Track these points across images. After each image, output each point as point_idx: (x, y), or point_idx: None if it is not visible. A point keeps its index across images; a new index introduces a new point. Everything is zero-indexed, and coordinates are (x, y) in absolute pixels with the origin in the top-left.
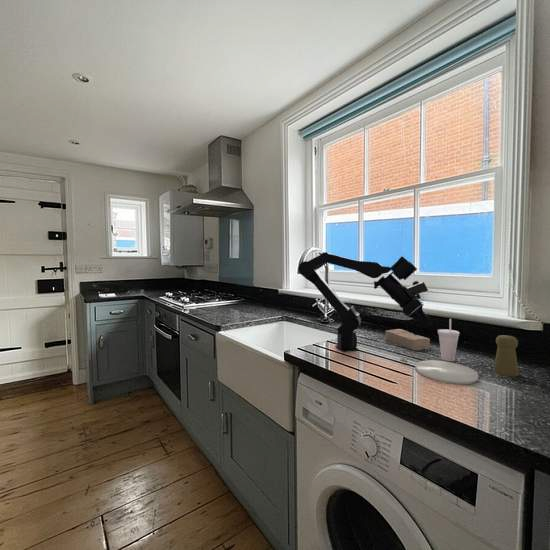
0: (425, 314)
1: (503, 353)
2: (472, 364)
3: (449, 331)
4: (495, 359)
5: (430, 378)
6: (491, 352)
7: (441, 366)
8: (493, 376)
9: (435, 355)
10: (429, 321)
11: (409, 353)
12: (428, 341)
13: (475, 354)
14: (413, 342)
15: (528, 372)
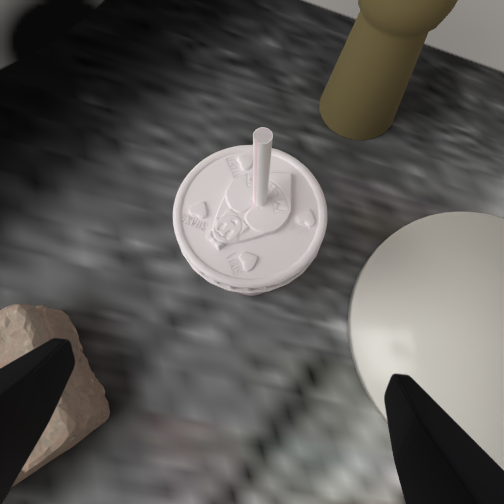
0: (14, 382)
1: (416, 55)
2: None
3: (276, 209)
4: (368, 101)
5: None
6: (86, 62)
7: (448, 340)
8: (423, 160)
9: (191, 311)
10: (435, 409)
11: (185, 457)
12: (41, 317)
13: (131, 129)
14: (83, 429)
15: (325, 43)
